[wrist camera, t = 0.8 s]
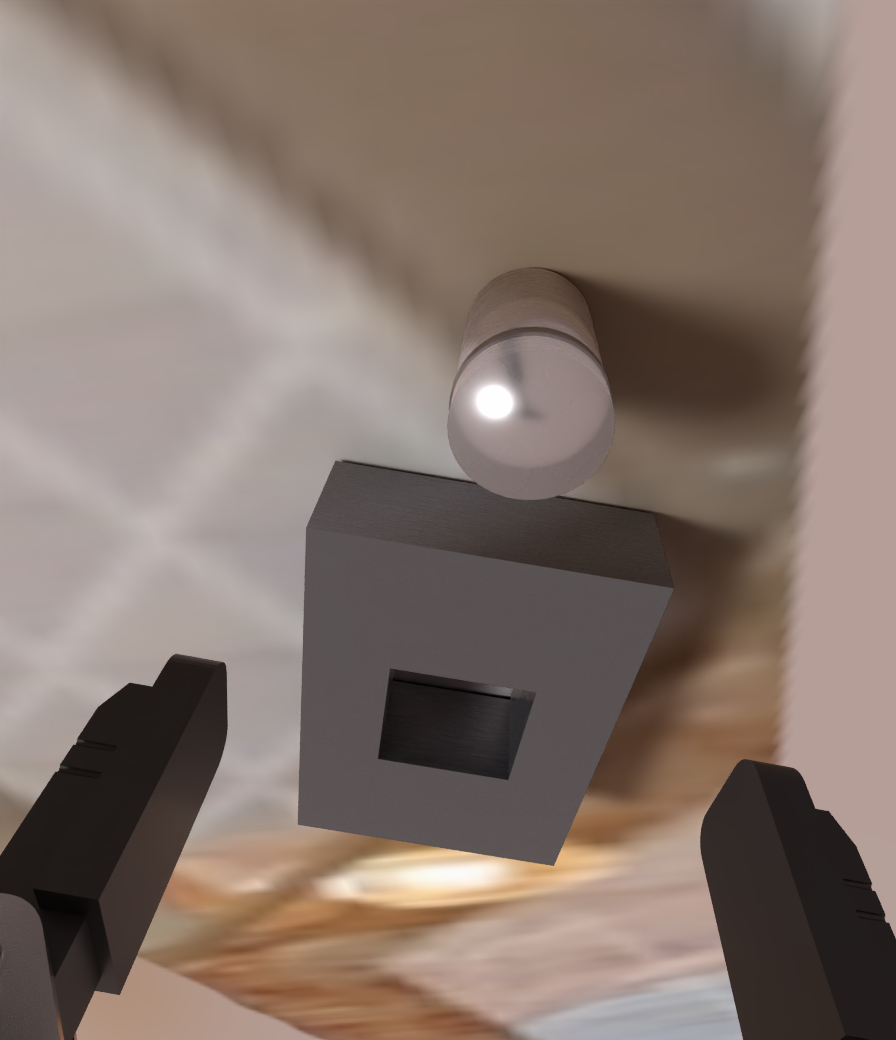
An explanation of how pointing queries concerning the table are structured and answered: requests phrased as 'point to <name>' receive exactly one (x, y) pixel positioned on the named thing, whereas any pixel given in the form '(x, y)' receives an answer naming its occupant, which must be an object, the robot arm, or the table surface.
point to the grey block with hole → (466, 657)
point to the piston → (530, 389)
